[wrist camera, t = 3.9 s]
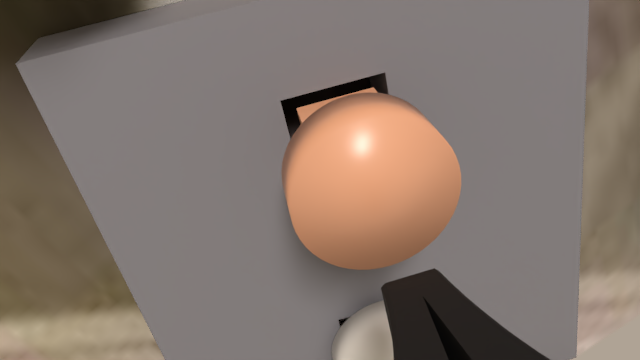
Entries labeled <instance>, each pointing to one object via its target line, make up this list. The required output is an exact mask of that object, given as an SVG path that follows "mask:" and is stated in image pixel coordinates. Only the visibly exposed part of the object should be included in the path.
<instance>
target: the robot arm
mask: <svg viewBox="0 0 640 360" xmlns="http://www.w3.org/2000/svg"><path fill="white" fill-rule="evenodd" d="M381 291H382V296H383V300H384V305H385V309H386V314H387V318H388V323H389V327H390V332H391V336H392V342H393V356H394V360H550V359H549V358H547V357H546V356H544V355H542V354H541V353H539V352H538V351H536V350H535V349H533V348H532V347H531V346H529V345H528V344H526V343H525V342H523V341H522V340H521V339H519V338H518V337H516V336H515V335H514V334H512V333H511V332H510V331H508V330H507V329H505V328H504V327H503V326H502V325H500V324H499V323H498V322H496V321H495V320H494V319H493V318H491V317H490V316H489V315H488V314H486V313H485V312H484V311H483V310H481V309H480V308H479V307H478V306H477V305H475V304H474V303H473V302H472V301H471V300H470V299H468V298H467V297H466V296H465V295H464V294H463V293H462V292H461V291H459V290H458V289H457V288H456V287H455V286H454V285H453V284H452V283H451V282H450V281H449V280H448V279H447V278H446V277H445V276H444V275H443V274H442V273H441V272H440V271H438V270H436V269H435V268H434V269H430V270H427V271H424V272H420V273H417V274H414V275H410V276H407V277H404V278H400V279H397V280H394V281H390V282H387V283H385V284H384V285H383V286H382V287H381Z"/></svg>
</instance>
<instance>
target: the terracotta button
mask: <svg viewBox="0 0 640 360" xmlns="http://www.w3.org/2000/svg"><path fill="white" fill-rule="evenodd" d="M296 109H297V113H298V117H299V121H300V126H299V127H298V129H297V130H296V131H295V133H294V134H293V136H292V138H291V140H290V141H289V143H288V146H287V148H286V151H285V153H284V158H283V162H282V171H281V175H282V185H283V190H284V194H285V198H286V201H287V205H288V209H289V213H290V217H291V221H292V224H293V227H294V229H295V232H296V234H297V235H298V237H299V239H300V240H301V242H302V243H303V244H304V245H305V247H306V248H307V249H308V250H309V251H310V252H312V253H313V254H314V255H315V256H317V257H318V258H320V259H321V260H323V261H325V262H327V263H329V264H332V265H335V266H338V267H342V268H347V269H356V270H369V269H377V268H383V267H387V266H391V265H394V264H396V263H399V262H402V261H404V260H406V259H408V258H410V257H412V256H414V255H415V254H417V253H419V252H420V251H421V250H423V249H424V248H426V247H427V246H428V245H429V244H430V243H431V242H433V241H434V240H435V239H436V238H437V237H438V236H439V234H440V233H441V232H442V231H443V230H444V228H445V227H446V225H447V224H448V223H449V221H450V219H451V217H452V216H453V214H454V211H455V209H456V207H457V204H458V200H459V197H460V191H461V172H460V166H459V163H458V160H457V157H456V155H455V153H454V151H453V149H452V147H451V146H450V145H449V143H448V142H447V141H446V139H445V138H444V137H443V136H442V135H441V134H440V133H439V132H438V130H437V129H436V128H435V127H434V126H433V125H432V124H431V123H430V121H429V120H428V119H427V118H426V117H425V116H424V115H423V114H422V113H421V112H420V111H419V110H418V109H417V108H416V107H414V106H413V105H412V104H410V103H409V102H407V101H405V100H403V99H401V98H398V97H395V96H392V95H388V94H383V93H378V92H377V91H376V90H375V89H374V87H372V88H369V89H365V90H361V91H358V92H354V93H350V94H347V95H343V96H339V97H336V98H332V99H328V100H324V101H321V102H317V103H313V104H310V105H306V106H302V107H299V108H296Z"/></svg>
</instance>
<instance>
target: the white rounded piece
mask: <svg viewBox="0 0 640 360" xmlns="http://www.w3.org/2000/svg"><path fill="white" fill-rule="evenodd" d="M332 359H333V360H394V356H393V342H392V336H391V332H390V327H389V323H388V318H387V314H386V309H385V305H384V300H383V301H379V302H376V303H373V304H371V305H368V306H366V307H364V308H362V309H361V310H359V311H357V312H356V313H355V314H353V315H352V316H351V317H347V318H346V321H345V322H344V324H343V325H342V326H341V327H340V329H339V330H338V332H337V334H336V336H335V338H334V341H333V344H332Z"/></svg>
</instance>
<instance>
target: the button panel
mask: <svg viewBox="0 0 640 360" xmlns="http://www.w3.org/2000/svg"><path fill="white" fill-rule="evenodd" d="M588 16H589V0H184V1H180V2H177V3H173V4H169V5H165V6H161V7H157V8H153V9H149V10H145V11H142V12H138V13H134V14H130V15H126V16H122V17H118V18H114V19H111V20H107V21H103V22H99V23H95V24H91V25H87V26H83V27H80V28H76V29H72V30H68V31H64V32H60V33H56V34H52V35H49V36H45V37H41V38H38V39H37V40H36V41H35V42H34V44H33V45H32V46H31V47H30V48H29V49H28V50H27V51H26V53H25V54H24V55H23V56H22V57H21V58H20V59H19V60H18V62H17V63H16V66H17V68H18V70H19V72H20V74H21V76H22V78H23V80H24V82H25V84H26V86H27V88H28V90H29V92H30V94H31V96H32V97H33V99H34V101H35V103H36V105H37V107H38V109H39V111H40V113H41V115H42V117H43V119H44V121H45V123H46V125H47V127H48V129H49V131H50V133H51V135H52V137H53V139H54V141H55V143H56V145H57V147H58V149H59V151H60V153H61V155H62V157H63V159H64V161H65V163H66V165H67V167H68V169H69V171H70V173H71V175H72V177H73V179H74V180H75V182H76V184H77V186H78V188H79V190H80V192H81V194H82V196H83V198H84V200H85V202H86V204H87V206H88V208H89V210H90V212H91V214H92V216H93V218H94V220H95V222H96V224H97V226H98V228H99V230H100V232H101V234H102V236H103V238H104V240H105V242H106V244H107V246H108V248H109V250H110V252H111V254H112V256H113V258H114V260H115V262H116V263H117V265H118V267H119V269H120V271H121V273H122V275H123V277H124V279H125V281H126V283H127V285H128V287H129V289H130V291H131V293H132V295H133V297H134V299H135V301H136V303H137V305H138V307H139V309H140V311H141V313H142V315H143V317H144V319H145V321H146V323H147V325H148V327H149V329H150V331H151V333H152V335H153V337H154V339H155V341H156V343H157V345H158V347H159V348H160V350H161V352H162V354H163V356H164V358H165V360H333V359H332V344H333V341H334V338H335V336H336V334H337V332H338V330H339V329H340V325H339V321H338V320H340V319H344V318H347V317H351V316H352V315H353V314H355V313H356V312H357V311H359V310H361V309H362V308H364V307H366V306H368V305H371V304H373V303H376V302H379V301H383V296H382V291H381V287H382V286H383V285H384V284H385V283H387V282H390V281H394V280H397V279H400V278H404V277H407V276H410V275H414V274H417V273H420V272H424V271H427V270H430V269H434V268H435V269H436V270H438V271H440V272H441V273H442V274H443V275H444V276H445V277H446V278H447V279H448V280H449V281H450V282H451V283H452V284H453V285H454V286H455V287H456V288H457V289H458V290H459V291H461V292H462V293H463V294H464V295H465V296H466V297H467V298H468V299H470V300H471V301H472V302H473V303H474V304H475V305H477V306H478V307H479V308H480V309H481V310H483V311H484V312H485V313H486V314H488V315H489V316H490V317H491V318H493V319H494V320H495V321H496V322H498V323H499V324H500V325H502V326H503V327H504V328H505V329H507V330H508V331H510V332H511V333H512V334H514V335H515V336H516V337H518V338H519V339H521V340H522V341H523V342H525V343H526V344H528V345H529V346H531V347H532V348H533V349H535V350H536V351H538V352H539V353H541V354H542V355H544V356H546V357H547V358H549V359H550V360H569V359H573V358H576V351H577V323H578V295H579V267H580V240H581V212H582V184H583V156H584V128H585V100H586V72H587V44H588ZM366 77H369V80H370V86H371V88H372V87H374V89H375V90H376V91H377V92H378V93H383V94H388V95H392V96H395V97H398V98H401V99H403V100H405V101H407V102H409V103H410V104H412V105H413V106H414V107H416V108H417V109H418V110H419V111H420V112H421V113H422V114H423V115H424V116H425V117H426V118H427V119H428V120H429V121H430V123H431V124H432V125H433V126H434V127H435V128H436V129H437V130H438V132H439V133H440V134H441V135H442V136H443V137H444V138H445V139H446V141H447V142H448V143H449V145H450V146H451V147H452V149H453V151H454V153H455V155H456V157H457V160H458V163H459V166H460V172H461V191H460V197H459V200H458V204H457V207H456V209H455V211H454V214H453V216H452V217H451V219H450V221H449V223H448V224H447V225H446V227H445V228H444V230H443V231H442V232H441V233H440V234H439V236H438V237H437V238H436V239H435V240H434V241H433V242H431V243H430V244H429V245H428V246H427V247H426V248H424V249H423V250H421V251H420V252H419V253H417V254H415V255H414V256H412V257H410V258H408V259H406V260H404V261H402V262H399V263H396V264H394V265H391V266H387V267H383V268H377V269H369V270H356V269H347V268H342V267H338V266H335V265H332V264H329V263H327V262H325V261H323V260H321V259H320V258H318V257H317V256H315V255H314V254H313V253H312V252H310V251H309V250H308V249H307V248H306V247H305V245H304V244H303V243H302V242H301V240H300V239H299V237H298V235H297V234H296V232H295V229H294V227H293V224H292V221H291V217H290V213H289V209H288V205H287V201H286V198H285V194H284V190H283V185H282V175H281V171H282V162H283V158H284V153H285V151H286V148H287V146H288V143H289V141H290V140H291V139H290V135H289V131H288V128H287V124H286V120H285V116H284V113H283V109H282V105H281V100H285V99H289V98H292V97H296V96H300V95H303V94H307V93H311V92H314V91H318V90H322V89H326V88H329V87H333V86H337V85H340V84H344V83H348V82H351V81H355V80H359V79H363V78H366Z"/></svg>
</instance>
